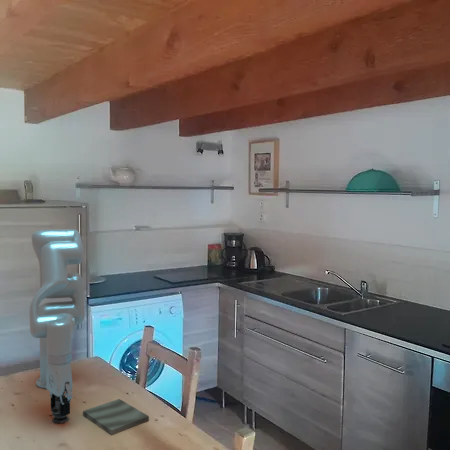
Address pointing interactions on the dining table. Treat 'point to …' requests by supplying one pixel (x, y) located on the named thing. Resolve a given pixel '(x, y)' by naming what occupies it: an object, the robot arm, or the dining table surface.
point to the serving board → (115, 416)
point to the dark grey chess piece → (58, 412)
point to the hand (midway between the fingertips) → (60, 411)
